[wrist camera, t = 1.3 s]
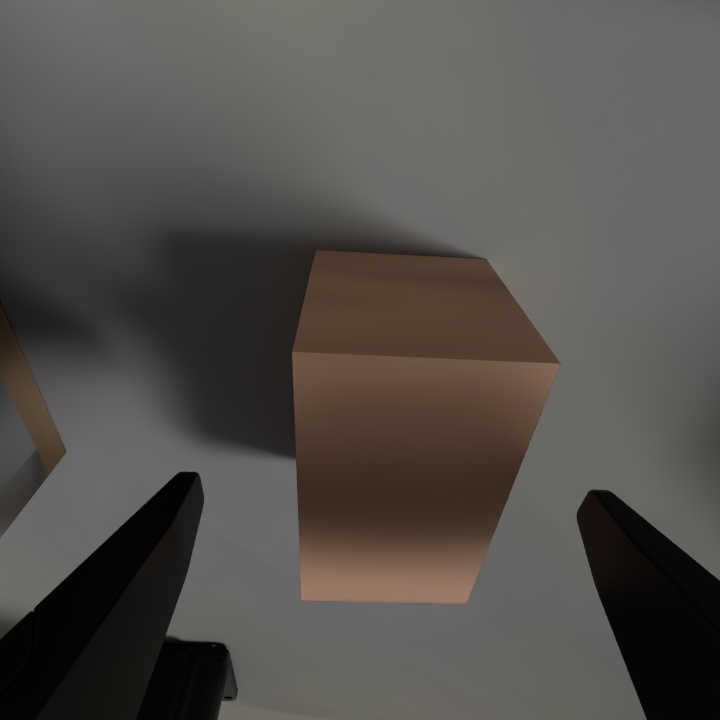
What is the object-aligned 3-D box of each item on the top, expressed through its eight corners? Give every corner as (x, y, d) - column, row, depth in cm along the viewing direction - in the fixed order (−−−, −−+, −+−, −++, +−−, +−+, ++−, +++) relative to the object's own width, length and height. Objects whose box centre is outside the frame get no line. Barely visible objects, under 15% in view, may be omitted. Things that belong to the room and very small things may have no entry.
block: (437, 464, 16) (466, 603, 12) (316, 460, 16) (301, 600, 11) (485, 257, 11) (560, 363, 7) (316, 248, 11) (292, 352, 7)
